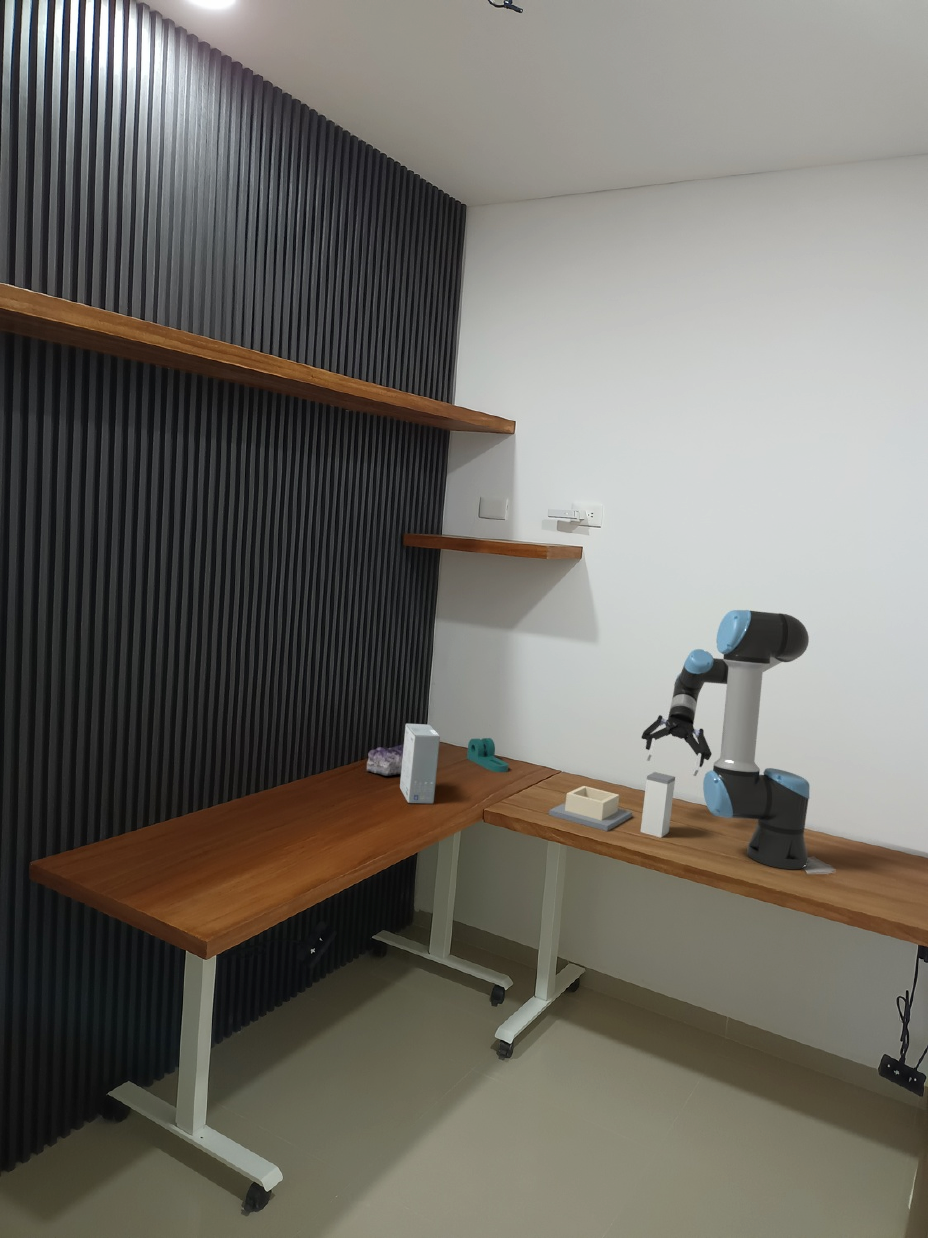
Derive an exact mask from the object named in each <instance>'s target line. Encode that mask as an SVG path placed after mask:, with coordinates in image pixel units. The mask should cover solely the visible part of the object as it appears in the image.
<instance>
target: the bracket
mask: <svg viewBox="0 0 928 1238" xmlns="http://www.w3.org/2000/svg"><path fill="white" fill-rule="evenodd" d="M495 745H496V744H495V742H494V740H493V739H492V737H486V738H485V737H483V738H481V739H480V738H471V739H469V741H468V744H467V753H466V759H467V760H468V761H471V762H473V763H475V764H477V765H479V766H481V767H483V768H485V769H487V770H488V771H492V772H494V773H507V772H508V771H509V763H508V762H506V761H503V760H502V759H500V758H497V757H495V753H496V752H495V751H496V746H495Z"/></svg>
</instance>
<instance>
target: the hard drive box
mask: <svg viewBox="0 0 928 1238" xmlns="http://www.w3.org/2000/svg"><path fill="white" fill-rule="evenodd" d="M403 738H404V739H403V740H404V741H403V745H404V748H403V759H402V770H401V774H400V780H399V781H400V782H399V783H400V784H399V788H400V790H401V793H402V794H403V796H404V798H405V800H406V801H407V803H408V804H431V805H432V804H434V801H435V790H436V781H437V773H438V772H437V771H438V770H437V769H438V761H439V752H440V751H439V750H440V749H439V748H440V738H441V736H440V735H439V733H438V732H437V731H436V730H435V729H434V728H433V727H432V726H431V725H430V724H423V723H422V724H421V723H405V728H404V737H403Z"/></svg>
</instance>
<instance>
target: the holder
mask: <svg viewBox="0 0 928 1238" xmlns="http://www.w3.org/2000/svg"><path fill="white" fill-rule="evenodd" d="M565 796H566V798H565V802H563V803H561V804H559V805H557V806H555V807H553V808H551V809H549V812H548V816H551V817H555V818H557V819H562V820H565V821H569V822H573V823H575V824H578V825H579V824H580V825H583V826H587V827H590V828H594V829H598V830H600V831H601V830H602V831H605V832H608V831H610V830H612V829H614V828H615V827H617V826H619V825H620V824H622V823H624V822H627V820H629V819H630V818H632V817H633V811H630V810H627V809H623V808H620V807H619V802H620V801H619V800H620V794H619V793H618V794H617V793H613V792H610V791H606V790H602V789H598V788H595V787H589V786H585V785H583V786H580V787H578V788H575V789H573V790H571V791H569V792H567V793H566V795H565Z"/></svg>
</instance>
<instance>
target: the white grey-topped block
mask: <svg viewBox="0 0 928 1238" xmlns="http://www.w3.org/2000/svg"><path fill="white" fill-rule="evenodd" d="M675 782H676V776H674V775H668V774H664V773H660V772H656V771H654V772H652V773H650V774H648V775H646V782H645V790H644V799H643V806H642V807H643V809H642V817H641V825H640V833H643V834H647V835H651V836H654V837H657V838H663V837H664V836H666V835H667V834H669V831H670V824H671V816H672V807H673V799H674V790H675Z"/></svg>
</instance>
